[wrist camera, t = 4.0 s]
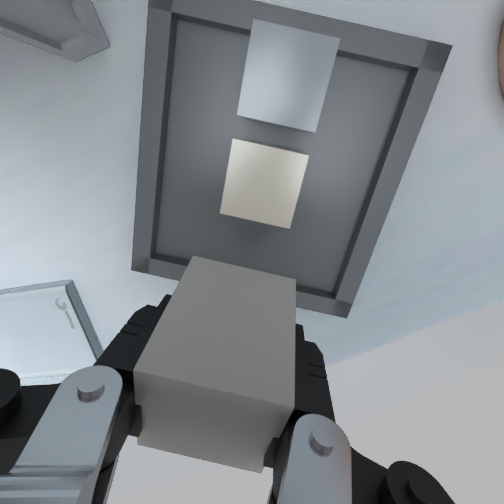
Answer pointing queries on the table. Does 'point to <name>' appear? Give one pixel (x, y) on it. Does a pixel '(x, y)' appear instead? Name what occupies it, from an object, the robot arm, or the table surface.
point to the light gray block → (286, 76)
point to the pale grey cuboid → (220, 366)
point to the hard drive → (46, 331)
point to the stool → (54, 26)
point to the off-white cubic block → (263, 182)
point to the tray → (314, 144)
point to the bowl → (501, 60)
